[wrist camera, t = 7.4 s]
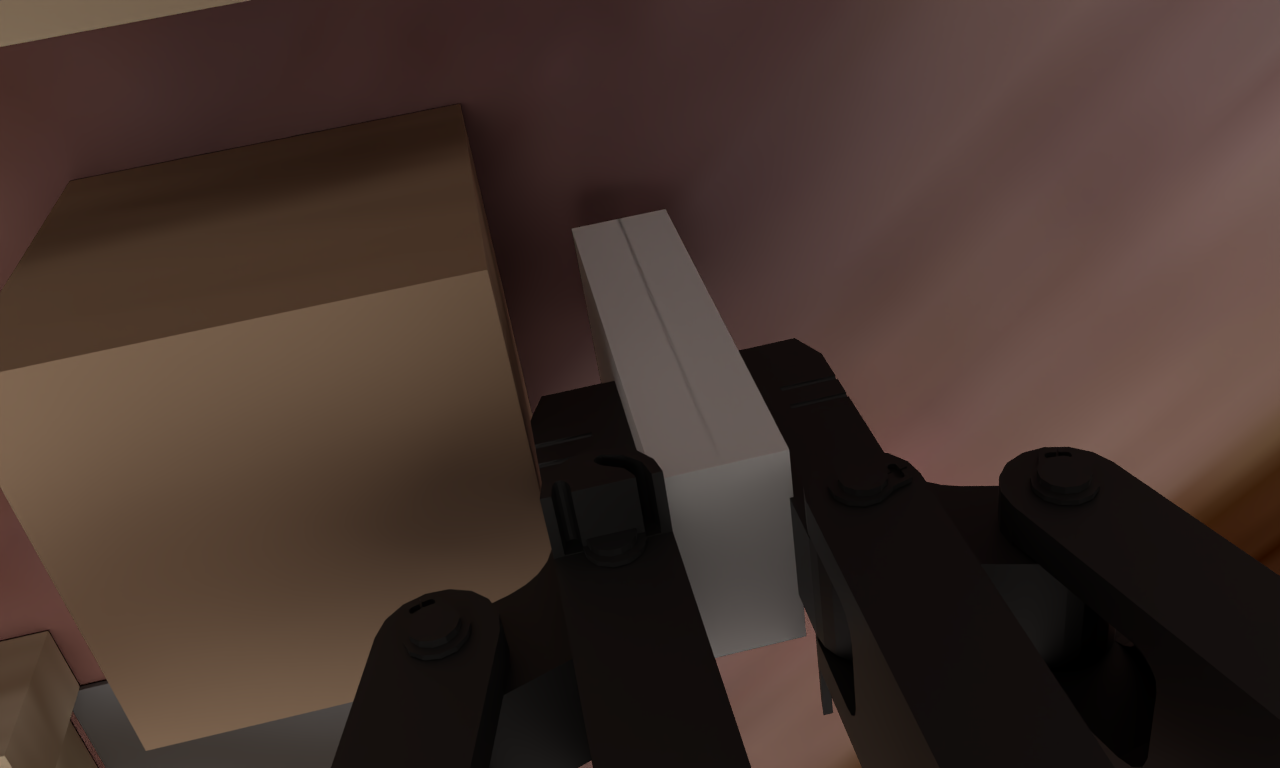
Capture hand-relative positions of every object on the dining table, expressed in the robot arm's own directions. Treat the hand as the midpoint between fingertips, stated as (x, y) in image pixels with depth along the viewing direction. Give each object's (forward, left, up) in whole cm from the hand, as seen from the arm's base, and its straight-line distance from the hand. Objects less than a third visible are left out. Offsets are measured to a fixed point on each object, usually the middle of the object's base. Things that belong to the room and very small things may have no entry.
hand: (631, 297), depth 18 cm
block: (0, -5, -2) cm, 5 cm away
